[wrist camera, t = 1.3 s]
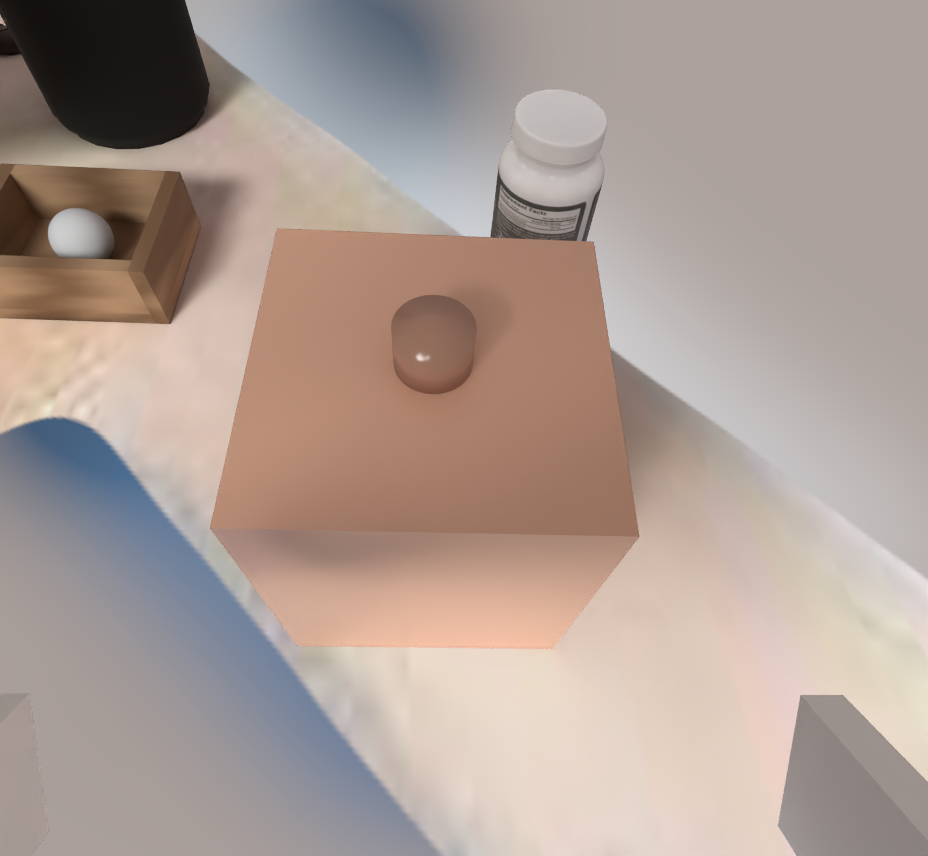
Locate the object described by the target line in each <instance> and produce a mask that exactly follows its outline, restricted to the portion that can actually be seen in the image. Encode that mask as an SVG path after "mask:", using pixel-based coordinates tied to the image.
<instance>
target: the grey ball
mask: <svg viewBox="0 0 928 856" xmlns="http://www.w3.org/2000/svg"><path fill="white" fill-rule="evenodd" d="M48 239H49V242H50V245H51V247H52V249H53V250H54V251H55V253H56V254H57V255H58V256H59V257H60V258H85V259H108V258H109V257H110V255H111V254H112V251H113V248H114V235H113V232H112V230H111V228H110V226H109V225H108V223H107V222H106V221H105V220H104V219H103V218H102V217H101V216H99V215H98V214H96V213H95V212H92V211H90V210H87V209H83V208H69V209H66V210H63V211H61V212H59V213H58V214H56V215H55V216H54V218H53V219H52V220H51V222H50V224H49V228H48Z"/></svg>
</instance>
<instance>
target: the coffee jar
mask: <svg viewBox="0 0 928 856" xmlns="http://www.w3.org/2000/svg"><path fill="white" fill-rule="evenodd" d="M0 15H1V17H2V19H3V20H4V22H5V24H6V26H7V28H8V30H9V32H10V34H11V36H12V37H13V39H14V41H15V43H16V45H17V47H18V49H19V51H20V53H21V54H22V56H23V58H24V60H25V62H26V64H27V66H28V68H29V70H30V71H31V73H32V75H33V77H34V79H35V81H36V83H37V85H38V87H39V89H40V90H41V92H42V94H43V96H44V98H45V100H46V102H47V104H48V106H49V107H50V109H51V111H52V113H53V114H54V116H55V117H56V118H57V119H58V120H59V121H60V122H61V123H62V124H63V125H64V126H65V127H66V128H67V129H68V130H69V131H72V132H74V133H76V134H78V135H79V136H80V138H82V139H84V140H87V141H89V142H91V143H93V144H95V145H98V146H103V147H109V148H114V149H140V148H144V147H149V146H154V145H159V144H163V143H165V142H167V141H170V140H172V139H175V138H177V137H179V136H181V135H183V134H184V133H185V132H187V131H188V130H190V129H191V128H192V127H194V126H195V125H196V123H197V122H198V121H199V119H200V118H201V116H202V115H203V113H204V108H205V106H206V105H207V100H208V93H209V86H210V84H209V81H208V77H207V74H206V71H205V67H204V64H203V60H202V57H201V54H200V50H199V47H198V43H197V40H196V36H195V33H194V30H193V26H192V23H191V19H190V16H189V13H188V9H187V6H186V2H185V0H0Z"/></svg>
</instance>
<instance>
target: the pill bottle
mask: <svg viewBox="0 0 928 856" xmlns="http://www.w3.org/2000/svg"><path fill="white" fill-rule="evenodd" d="M606 128H607V119H606V115H605V113H604V111H603V110H602V109H601V107H600V106H599V105H598V104H597V103H595V102H594V101H593V100H591V99H590V98H588V97H586V96H584V95H581V94H579V93H575V92H572V91H567V90H559V89H549V90H541V91H537V92H534V93H531V94H528V95H527V96H525V97H524V98H523V99H522V100H520V101H519V103H518V104H517V106H516V109H515V112H514V118H513V123H512V129H511V134H512V138H513V139H512V140H511V141H510V142H509V143H508V144H507V146H506V147H505V148H504V150H503V152H502V154H501V157H500V162H499V168H498V176H497V185H496V194H495V202H494V212H493V222H492V229H491V238H515V239H538V240H562V241H585V242H586V240H587V236H588V233H589V229H590V225H591V222H592V218H593V214H594V211H595V207H596V204H597V201H598V197H599V193H600V190H601V187H602V182H603V177H604V165H603V161H602V158H601V155H600V154H599V151H600V149H601V147H602V143H603V140H604V136H605V132H606Z"/></svg>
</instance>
